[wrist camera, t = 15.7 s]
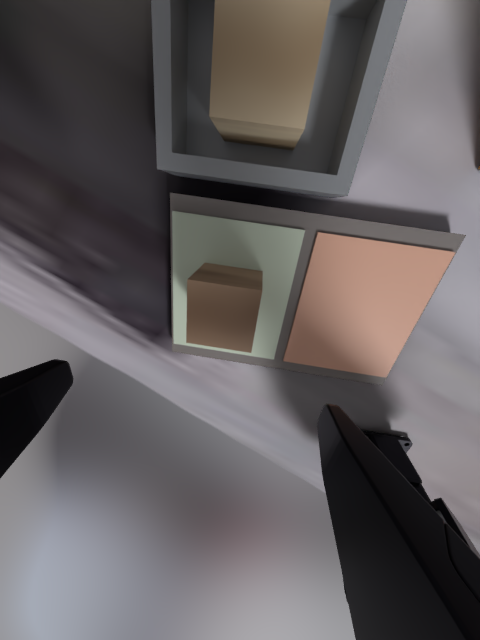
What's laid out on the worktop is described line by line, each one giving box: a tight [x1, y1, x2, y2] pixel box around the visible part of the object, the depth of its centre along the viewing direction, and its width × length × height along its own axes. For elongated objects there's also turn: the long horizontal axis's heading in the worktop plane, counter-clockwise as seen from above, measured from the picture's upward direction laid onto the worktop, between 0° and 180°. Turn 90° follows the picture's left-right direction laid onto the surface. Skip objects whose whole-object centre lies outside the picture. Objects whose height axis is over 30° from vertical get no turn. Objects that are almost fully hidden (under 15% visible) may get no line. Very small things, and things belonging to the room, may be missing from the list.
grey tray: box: [151, 0, 407, 198], centre depth 11 cm, size 8×10×3 cm
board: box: [170, 193, 466, 385], centre depth 17 cm, size 12×18×1 cm, turn 83°
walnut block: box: [186, 263, 263, 353], centre depth 15 cm, size 4×4×4 cm
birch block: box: [209, 0, 331, 151], centre depth 10 cm, size 4×4×4 cm
